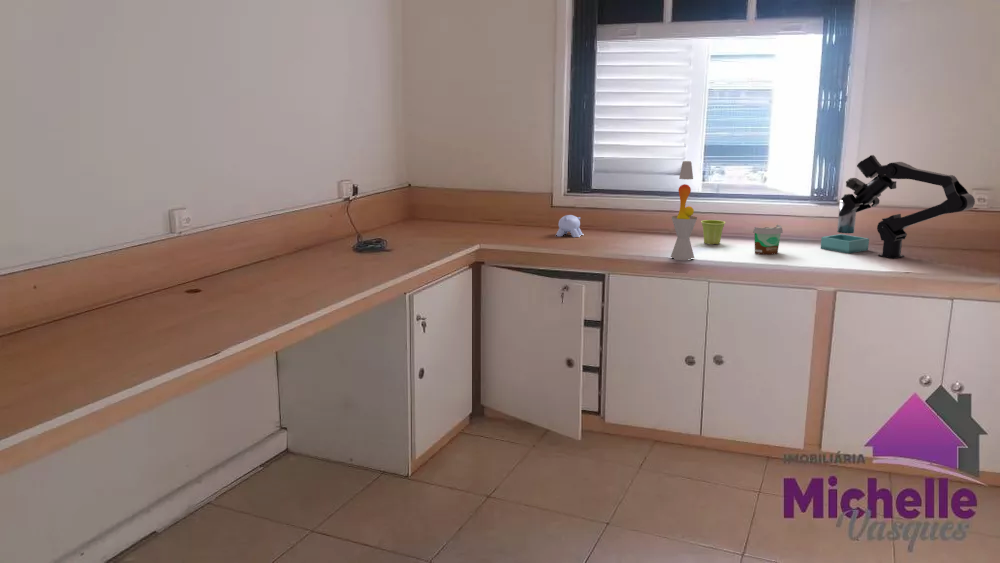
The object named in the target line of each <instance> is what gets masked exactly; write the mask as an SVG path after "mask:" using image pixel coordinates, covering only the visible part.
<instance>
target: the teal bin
mask: <svg viewBox="0 0 1000 563" xmlns="http://www.w3.org/2000/svg"><path fill="white" fill-rule="evenodd" d="M820 240H821V242H820V249H821V250H826V251H832V252H836V253H837V252H838V253H843V254H848V255H849V254H854V253H860V252H865V251H869V244H870V243H869V242H870V238H867V237H862V236H855V235H850V234H845V233H839V234H834V235H833V234H832V235H828V236H827V235H826V236H821V239H820Z"/></svg>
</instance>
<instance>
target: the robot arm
mask: <svg viewBox="0 0 1000 563" xmlns="http://www.w3.org/2000/svg"><path fill="white" fill-rule="evenodd" d="M856 167H857V168H858V169H859V171H860V172H861V174H863V176H864V177H865V178H866V179H869V178H870V181H869V182H868V183H866V182H864V181H862V180H860V179H858V178H857V177H850V178H848V179H847V180H846V181H845V187H846V188H849V189H851V190H852V191H853V193H847V194H843V195H842V196H841V198H840V200H842V201H843V202H844V206H843V208H842V209H841V211H840V213H839V212H838V216H839V215H840V216H843V215H846V214H848V213H851V212H854V211H856V213H859V212H862V211H865V210H868V209H871V208H874V207H877V206H878V205H880V199H879V198H880V197H881V196H882V194H883V192H884V191H885V190H887V189H888V188H889V189H890V190H894V189H897V181H894V180H913V181H916V182H921V183H926V184H931V185H936V186H939V187H942V189H943V192H944V195H945V197H946V200H944V201H943V202H940V204H937V205H935V206H931V207H929V208H925V209H922V210H919V211H917V212H914V213H913V212H912V213H911V214H908V215H906V216H905V215H904V216H902V215H901V213H898V214H892V215H890V216H889V217H883V218H881V220H880V221H879V222H878V224H877V226H876V227H877V228H876V230H877V232H878V234H879V237H880V240H881V241H883V245H882V252H881V253H879V254H878V255H877V256H879V257H882V258H883V257H884V258H890V259H899V258H900V259H901V258H904V257H905V255H903V254H902V245H903V240H905V239H906V238H907V235H908V234H907V232H906V231H905V229H907V228H908V227H910V226H913V225H916V224H920V223H922V222H925V221H928V220H931V219H934V218H938V217H940V216H943V215H946V214H952V213H959V212H964V211H969V210H972V209H973V208H974V206H975V203H976V201H975V198H974V196H973V195H972V194H971V193H969V192H968V189H966V188H965V187H964V185H962V183H960V181H959V180H958V178H957V177H956V176H955V175H952V174H944V173H940V172H935V171H930V170H924V169H921V168H917V167H914V166H912V165H910V164H908V163H906V162H903V161H894V162H893V161H892V162H889V163H887V164H883V165H882V164H881V162H879V160H878V159H877V157H876V156H875V155H874V154H871V155H869V156H867V157H866V158H864V159H862V160H861V161H859V162H858V163H857V164H856Z"/></svg>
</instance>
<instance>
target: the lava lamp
mask: <svg viewBox="0 0 1000 563" xmlns="http://www.w3.org/2000/svg"><path fill="white" fill-rule="evenodd" d="M681 162H682V164H681V168H680V173H679V180H693V179H694V176H693V166H692V161H690V160H683V161H681ZM691 192H692V188H691V187H690V185H688V184H686V183H685V184H681V185H680V186H679V187H678V195H679V201H680V204H679V211H678V215H673V216H671V220H672V224H673V226H674V227H673V228H674V230H675V234H676V237H677V238H676V241H675V244H674V247H673V249H672V250H671V251H672V252H671V255H670V257H672V258H674V259H675V261H689V260H688V259H691V258H695V255H694V252H693V246H692V242H691V238H690V237H691V235H692V232H693V230H694V228H695V225H696V222H697V220H698V217H697V216H694V212H695V210H694V208H693V207H692V206H689V205H688V206H686V205H687V200H688V198H689V196H690V194H691ZM674 259H673V260H674Z"/></svg>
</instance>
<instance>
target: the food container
mask: <svg viewBox="0 0 1000 563" xmlns="http://www.w3.org/2000/svg"><path fill="white" fill-rule="evenodd" d="M783 231H784V230H783V226H781V225H779V224H777V225H776V226H775V227H756V226H755V227H754V228H753V232H752V233H753V234H754V254H756V255H763V256H766V255H767V256H772V255H777V254H779V252H778V251H779V246H780V242H781V234H783V233H784V232H783Z"/></svg>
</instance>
